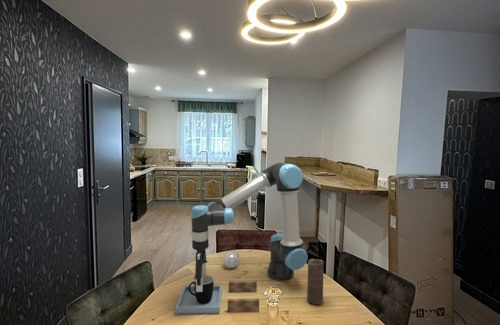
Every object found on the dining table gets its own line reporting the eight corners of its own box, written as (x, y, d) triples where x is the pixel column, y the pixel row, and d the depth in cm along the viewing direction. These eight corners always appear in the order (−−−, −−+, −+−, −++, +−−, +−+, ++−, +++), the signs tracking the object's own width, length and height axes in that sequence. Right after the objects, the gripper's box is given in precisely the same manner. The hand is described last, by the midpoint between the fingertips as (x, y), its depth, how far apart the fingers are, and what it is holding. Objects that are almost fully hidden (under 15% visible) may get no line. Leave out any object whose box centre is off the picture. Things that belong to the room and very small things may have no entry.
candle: (319, 308, 124) (320, 265, 123) (304, 303, 128) (305, 261, 127) (324, 300, 130) (325, 259, 129) (310, 295, 134) (310, 256, 133)
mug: (215, 295, 132) (215, 275, 132) (210, 306, 123) (210, 284, 123) (191, 294, 133) (191, 273, 133) (185, 304, 125) (185, 283, 124)
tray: (222, 290, 138) (222, 285, 138) (219, 313, 119) (219, 307, 119) (184, 291, 137) (184, 285, 137) (175, 314, 118) (175, 308, 118)
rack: (256, 290, 139) (256, 281, 138) (259, 311, 121) (259, 300, 121) (228, 291, 138) (228, 281, 138) (227, 312, 121) (227, 301, 120)
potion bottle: (226, 273, 160) (232, 265, 174) (240, 264, 159) (244, 257, 174) (218, 260, 161) (224, 253, 176) (231, 251, 160) (236, 245, 175)
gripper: (196, 231, 139) (197, 271, 140) (187, 249, 114) (188, 298, 115) (211, 230, 139) (212, 270, 140) (205, 249, 114) (206, 298, 116)
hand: (201, 283), depth 128 cm, fingers open, 13 cm apart
